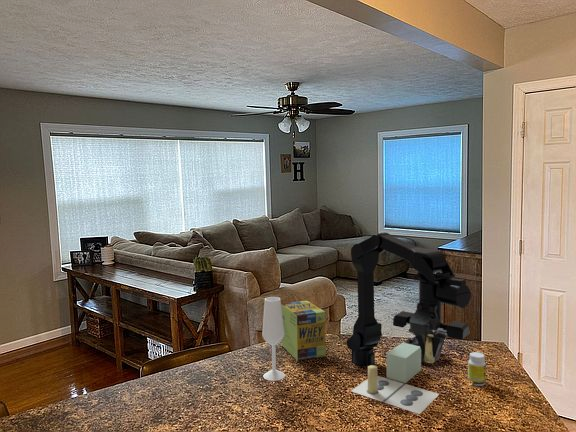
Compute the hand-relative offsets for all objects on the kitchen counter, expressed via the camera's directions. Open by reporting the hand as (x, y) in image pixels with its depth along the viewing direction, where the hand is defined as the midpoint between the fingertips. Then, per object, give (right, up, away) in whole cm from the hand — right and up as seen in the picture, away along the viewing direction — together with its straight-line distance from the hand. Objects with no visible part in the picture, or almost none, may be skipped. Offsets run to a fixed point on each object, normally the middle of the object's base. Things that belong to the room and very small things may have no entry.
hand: (429, 355), depth 123 cm
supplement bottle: (+17, -11, +11) cm, 23 cm away
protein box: (-33, -10, +37) cm, 50 cm away
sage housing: (-3, -11, +15) cm, 19 cm away
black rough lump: (+7, -10, +31) cm, 33 cm away
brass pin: (0, -2, 0) cm, 2 cm away
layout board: (-9, -12, +3) cm, 15 cm away
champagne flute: (-42, -12, +18) cm, 47 cm away
